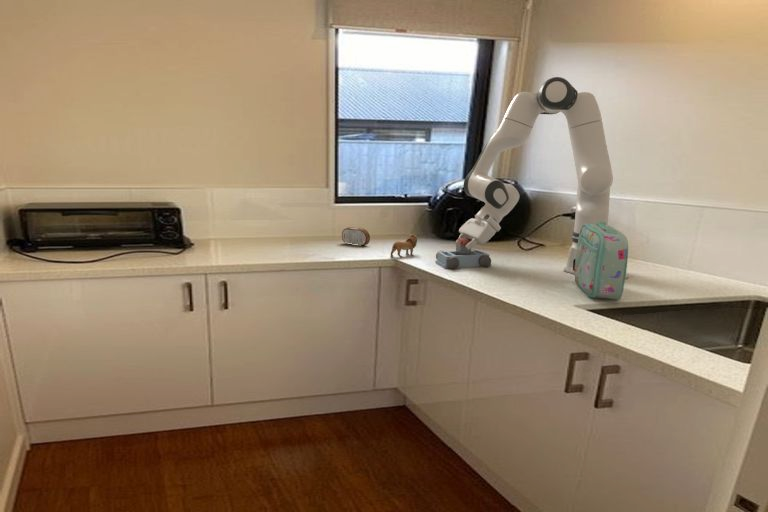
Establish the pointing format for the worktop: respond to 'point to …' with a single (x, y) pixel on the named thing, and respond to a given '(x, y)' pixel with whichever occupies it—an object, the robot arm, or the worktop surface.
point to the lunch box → (601, 261)
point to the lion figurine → (405, 245)
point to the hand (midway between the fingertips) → (461, 245)
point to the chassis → (462, 259)
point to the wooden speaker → (356, 236)
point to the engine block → (462, 247)
